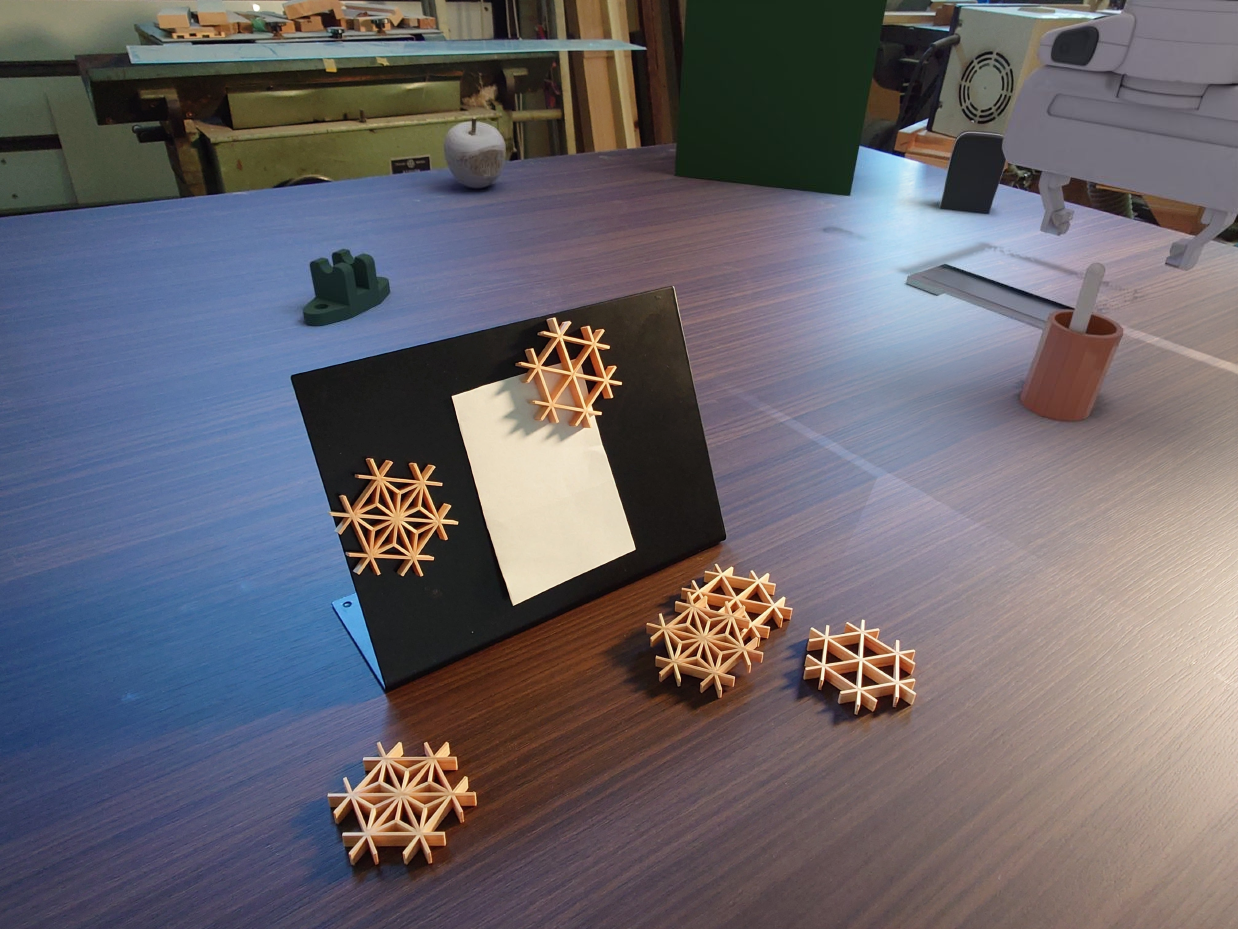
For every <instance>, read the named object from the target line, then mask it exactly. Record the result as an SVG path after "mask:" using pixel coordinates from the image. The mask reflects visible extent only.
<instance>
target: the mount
mask: <svg viewBox="0 0 1238 929" xmlns="http://www.w3.org/2000/svg"><path fill="white" fill-rule="evenodd" d="M331 261H332V265H331V263H330V260H329V258H327V257H318V258H316V259H314V260H312V261H310V262H309V270H310V276H311V280H312V286H313V291H314V298H312V299H311V300H310V301H309V302H308V303H306V305H305V306H304V307H303V308H302V314H303V319H304V323H305V324H306V325H308V326H311V327H320V326H326V325H329V324H333V323H337V322H340V321H345V320H348V319H352V318H354V317H356V316H358V315H360V314H362V313H364V312H366V311H368V310H370V309H372V308H375V307H376V306H379V305H380V304H382V302H384V301H385V299H386V298H387V297H388V296H389V295H390V294H391V286H390V280H389V278H388V277H384V276H377V268H376V262H375V259H374V257H373V256H372V255H371V254H368V253H364V252H363V253H361V254H358V255H356V256H354V257H353V255H352V253H351V250H350V249H347V248H341V249H339V250H336V251H333V252H332V253H331Z"/></svg>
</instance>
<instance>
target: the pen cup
mask: <svg viewBox="0 0 1238 929" xmlns="http://www.w3.org/2000/svg"><path fill="white" fill-rule="evenodd" d="M1073 313H1074V310H1069V309H1068V310H1067V309H1066V310H1056V311H1054V312H1051V313H1050V314H1049V316H1048V319H1047V321H1046V324H1045V327H1044V330H1043V329H1042V333H1041V336H1040V339H1039V340H1038V341H1039V342H1038V344H1037V347H1036V350H1035V352H1034V356H1033V359H1032V360H1031V364H1030V367H1029V370H1028V373H1027V375H1026V378H1025V380H1024V384H1023V387H1022V389H1021V392H1020V395H1019V401H1020V403H1021V404H1022V405H1023V406H1024V408H1025V409H1027V410H1029V411H1030V412H1032V413H1033V414H1035V415H1039V416H1041V417H1042V418H1043V417H1044V418H1046V419H1050V420H1054V421H1058V422H1067V423H1068V422H1069V423H1071V422H1080V421H1083V420H1086V419H1088V417H1089V416H1091V412H1092V410H1093V408H1094V406H1095V403H1096V400H1097V399H1098V395H1099V393H1100V391H1101V389H1102V386H1103V383H1104V381H1105V379H1106V377H1107V374H1108V371H1109V369H1110V367H1111V364H1112V362H1113V360H1114V358H1115V355H1116V352H1117V350H1118V348H1119V345H1120V344H1121V340H1122V339H1123V335H1124V331H1125V330H1124V327H1122V325H1121V324H1120V323H1118V322H1117V321H1115V320H1113V319H1111V318H1109V317H1108V316H1104V315H1101V314H1099V313H1095V312H1092V314H1091V317H1090V320H1089V323H1088V326H1087V329H1086V332H1085V334H1084V333H1080V332H1076V331H1073V330H1070V329H1069V326H1070V323H1071V320H1072V316H1073Z"/></svg>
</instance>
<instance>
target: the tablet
mask: <svg viewBox="0 0 1238 929" xmlns="http://www.w3.org/2000/svg"><path fill="white" fill-rule="evenodd" d="M905 284H907V285H909V286H911V287H913V288H917V289H920V290H923V291H924V292H928V293H930V294H933V295H936V296H940V295H943V294H946V295H949V296H951V297H954V298H956V299H959V300H962V301H964V302H967V303H970V304H973V305H976V306H978V307H980V308H983V309H986V310H989V311H992V312H994V313H997V314H999V315H1002V316H1005V317H1008V318H1011V319H1014V320H1016V321H1018V322H1022V323H1024V324H1026V325H1029V326H1031V327H1035V328H1037V329H1040V330H1042V331H1043V330H1044V327H1045V324H1046V321H1047V319H1048V316H1049V314H1050V313H1051V312H1054V311H1056V310H1066V309H1067V310H1068V309H1069V310H1075V307H1073V306H1070V305H1066V304H1063V303H1060V302H1058V301H1055V300H1052V299H1049V298H1046V297H1043V296H1041V295H1038V294H1035V293H1033V292H1032V293H1031V292H1029V291H1026V290H1023V289H1020V288H1017V287H1014V286H1011V285H1009V284H1007V283H1006V284H1005V283H1002V282H999V281H997V280H993V279H990V278H989V277H985V276H982V275H979V274H976V273H973V272H970V271H968V270H965V269H962V268H959V267H956V266H953V265H950V264H947V263H943V264H940V265H937V266H934V267H931V268H928V269H925V270H921V271H918V272H916V273H913V274H910V275H907V277H906V280H905Z"/></svg>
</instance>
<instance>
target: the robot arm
mask: <svg viewBox="0 0 1238 929" xmlns="http://www.w3.org/2000/svg"><path fill="white" fill-rule="evenodd" d="M1036 55H1037V60H1038V62H1040V63H1041V64H1043V65H1041V66H1039V67H1037V68H1035V69H1034V70H1032V71H1031V72H1030V73H1029V74H1028V75H1027V77H1026V78H1025V80H1024V81H1023V82H1022V85H1021V87H1020V89H1019V91H1018V93H1017V96H1016V99H1015V101H1014V103H1013V106H1012V109H1011V112H1010V114H1009V118H1008V120H1007V124H1006V127H1005V131H1004V134H1003V135H1004V138H1003V142H1002V150H1003V153H1004V156H1005V158H1006V163H1008V164H1010V165H1015V166H1019V167H1023V168H1029V169H1033V170H1036V171H1041V175H1040V178H1039V181H1038V184H1037V185H1038V191H1039V194H1040V197H1041V202H1042V206H1043V210H1045V212H1044V214H1043V218H1042V221H1041V223H1040V228H1039V229H1040V230H1039V231H1040V232H1042V233H1045V234H1050V235H1053V236H1057V237H1060V236H1061V235H1065V234H1067V233H1068V231H1069V229H1070V227H1071V222H1070V221H1072V220H1073V217H1074V215H1075V210H1073V209H1070V208H1066V205H1065V199H1064V193H1063V186H1067V185H1069V184H1070V183H1071V182H1070V181H1071V178H1073V179H1078V180H1082V181H1087V182H1091V183H1096V184H1098V185H1099V184H1101V185H1104V186H1109V187H1113V188H1118V189H1122V190H1128V191H1132V192H1134V193H1135V192H1136V193H1141V194H1144V195H1150V196H1154V197H1159V198H1163V199H1167V200H1171V201H1176V202H1181V203H1186V204H1188V205H1189V204H1190V205H1194V206H1198V207H1204V208H1205V209H1204V211H1203V214H1202V217H1201V218H1200V223H1201V224H1204V225H1208V226H1206V227H1205V228H1204V229H1203V230H1202V231H1200V232H1199V233H1198V234H1197V235H1195V236H1194V237H1193V238H1192V239H1190V238H1186V237H1182V238H1180V239H1179V240H1174V242H1172V244H1171V247H1170V249H1169V255H1168V256H1166V258H1165V261H1164V265H1165V266H1166V267H1169V268H1173V269H1176V270H1180V271H1185V272H1188V271H1190V270H1192V269H1193V268H1194V267H1195V266H1196V264H1197V263H1198V261H1199V258H1200V256H1201V254H1202V251H1203V249H1204V247H1205V245H1207V244H1208V243H1211V241H1212V240H1213V239H1215V238H1216V237H1218V236H1219V235H1220V234H1221V233H1222V232H1224V231H1225V230H1227V229H1228V228H1229V227H1230V226H1231V225H1233V224H1234V223H1235V220H1236V218H1237V216H1238V0H1126V1H1125V3H1124V7H1123V9H1122V10H1121V11H1120V13H1117V14H1108V15H1101V16H1097V17H1094V18H1093V19H1092V20H1088V21H1084V22H1080V23H1075V24H1071V25H1067V26H1062V27H1058V28H1055V29H1050V30H1048V31H1047V32H1045V33H1044V34H1043V35H1042V37H1041V39H1040V41H1039V44H1038V48H1037V53H1036Z"/></svg>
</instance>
